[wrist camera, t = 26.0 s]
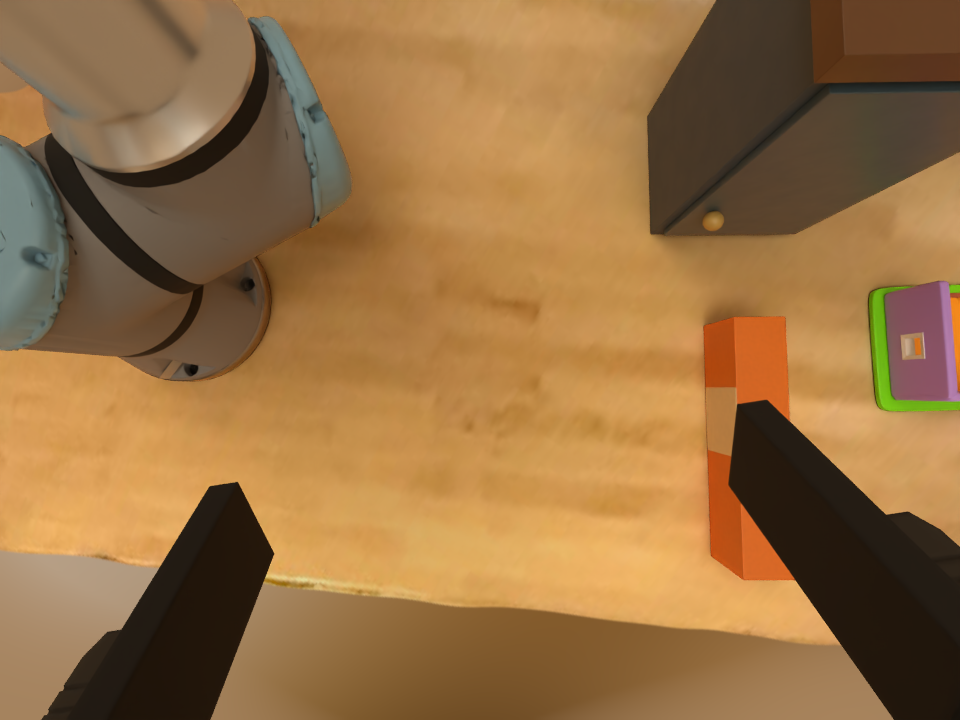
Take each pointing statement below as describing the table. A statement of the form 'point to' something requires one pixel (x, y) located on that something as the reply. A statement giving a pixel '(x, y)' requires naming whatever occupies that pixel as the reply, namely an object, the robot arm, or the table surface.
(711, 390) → the block
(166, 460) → the table surface
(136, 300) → the robot arm
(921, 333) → the toy room diorama
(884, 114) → the cabinet
